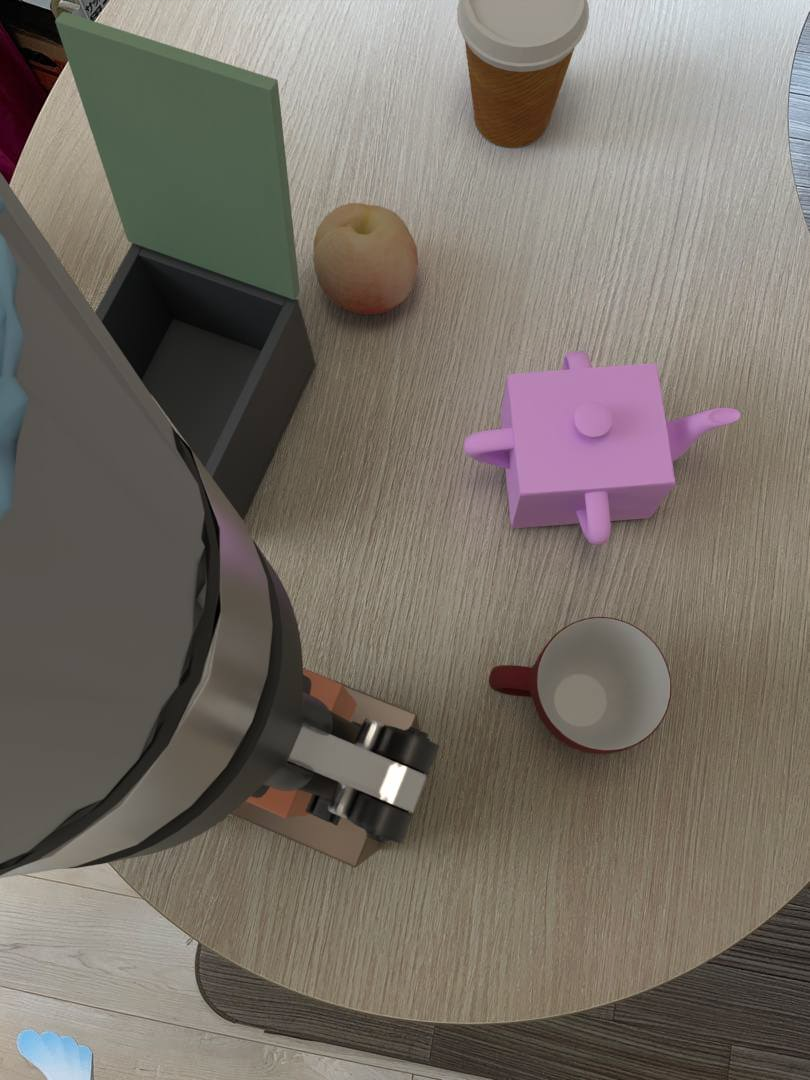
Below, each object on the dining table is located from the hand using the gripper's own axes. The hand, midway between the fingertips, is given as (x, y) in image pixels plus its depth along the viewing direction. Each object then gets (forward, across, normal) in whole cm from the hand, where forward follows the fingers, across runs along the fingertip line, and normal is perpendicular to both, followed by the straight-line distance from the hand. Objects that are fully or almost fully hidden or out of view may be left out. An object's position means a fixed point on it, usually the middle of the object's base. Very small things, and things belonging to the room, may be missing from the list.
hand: (275, 733), depth 39 cm
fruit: (+28, -12, +34) cm, 46 cm away
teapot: (+27, +9, +26) cm, 38 cm away
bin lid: (+9, -20, +28) cm, 35 cm away
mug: (+27, +13, +10) cm, 32 cm away
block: (+2, 0, 0) cm, 2 cm away
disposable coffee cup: (+28, -7, +54) cm, 61 cm away
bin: (+27, -20, +19) cm, 39 cm away
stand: (+27, +1, 0) cm, 27 cm away
